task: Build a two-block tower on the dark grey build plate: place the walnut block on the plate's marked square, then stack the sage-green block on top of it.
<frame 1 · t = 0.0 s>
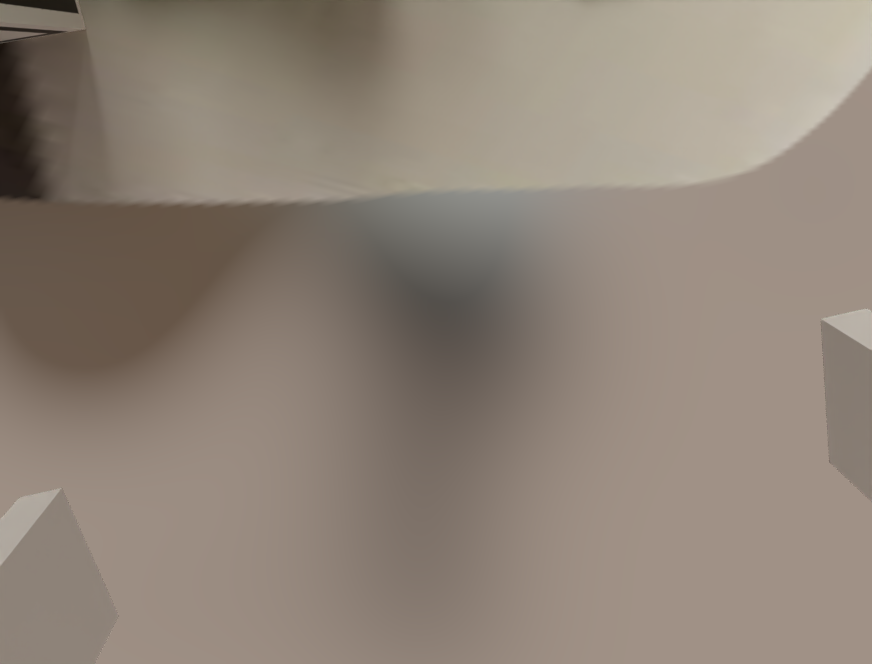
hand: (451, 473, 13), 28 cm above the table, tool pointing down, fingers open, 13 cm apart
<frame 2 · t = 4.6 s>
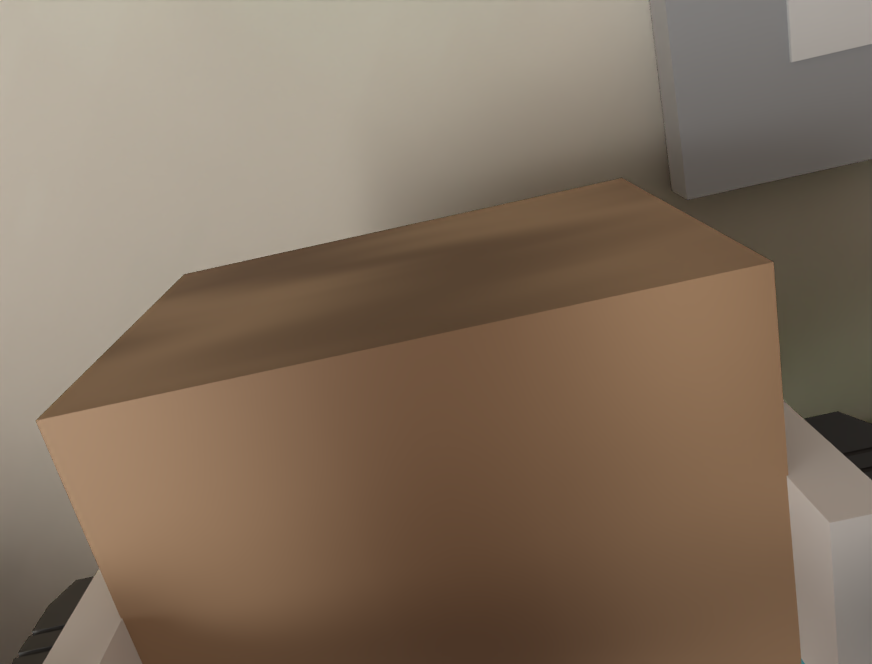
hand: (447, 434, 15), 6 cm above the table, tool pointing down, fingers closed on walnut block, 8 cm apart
walnut block: (446, 424, 15), point 5 cm above the table, touching gripper
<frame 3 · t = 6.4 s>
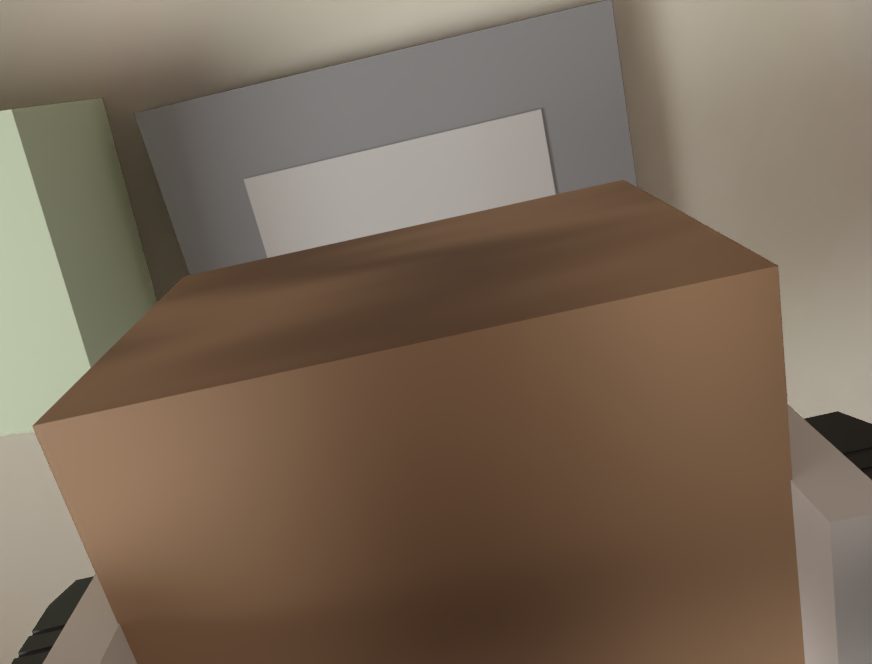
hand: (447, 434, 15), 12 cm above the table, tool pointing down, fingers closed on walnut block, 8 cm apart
walnut block: (447, 427, 15), point 11 cm above the table, touching gripper
build plate: (424, 276, 26), on the table
green block: (14, 244, 25), on the table
when the fingers open (2 cm above the table, at t = 8.4 s): walnut block stays where it is, resting on build plate.
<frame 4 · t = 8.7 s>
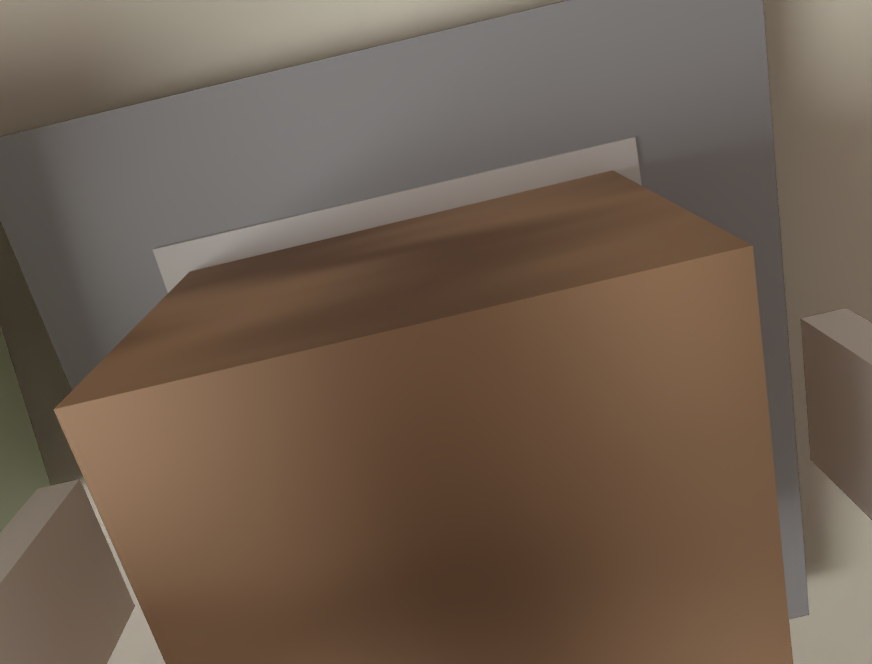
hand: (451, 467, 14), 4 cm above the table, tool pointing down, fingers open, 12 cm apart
walnut block: (447, 413, 16), point 1 cm above the table, touching build plate
build plate: (441, 387, 17), on the table
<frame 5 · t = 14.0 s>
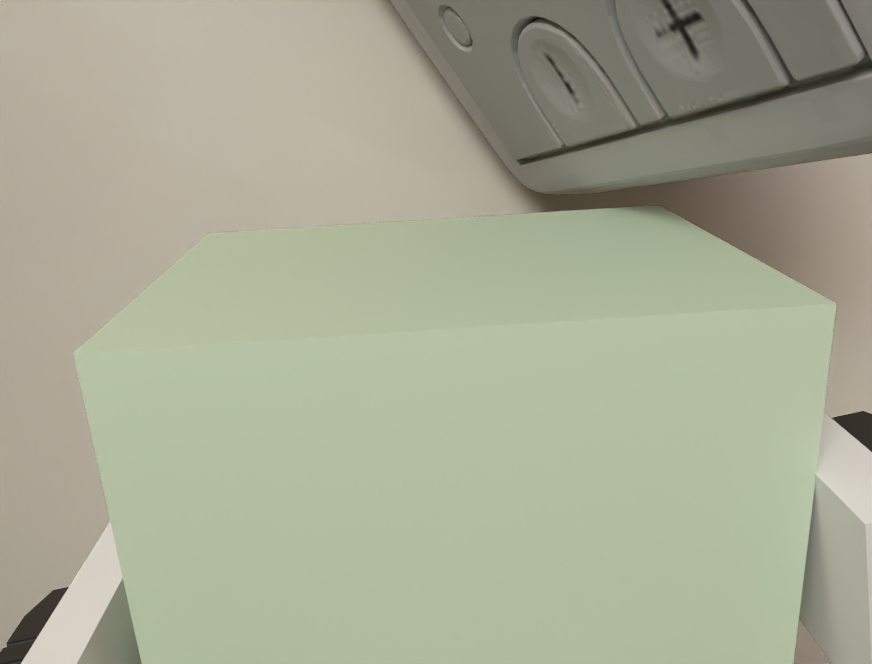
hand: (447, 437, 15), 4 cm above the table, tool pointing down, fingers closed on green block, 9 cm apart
green block: (446, 423, 15), point 4 cm above the table, touching gripper
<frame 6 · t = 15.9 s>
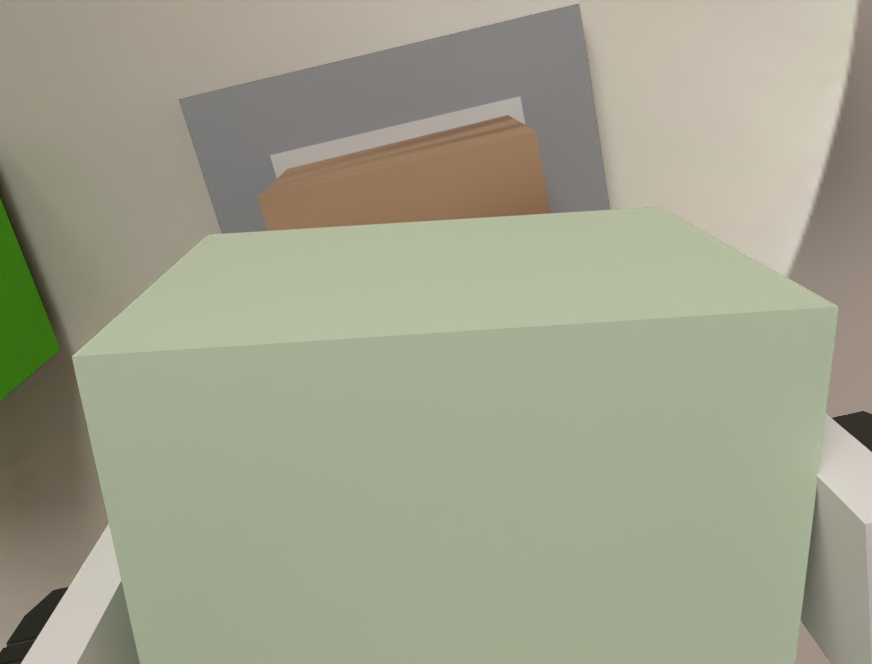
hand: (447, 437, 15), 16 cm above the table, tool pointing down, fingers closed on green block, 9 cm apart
walnut block: (423, 250, 29), point 1 cm above the table, touching build plate
build plate: (422, 240, 30), on the table
green block: (446, 425, 15), point 16 cm above the table, touching gripper
when the fingers open (8 cm above the table, at t = 18.0 s): green block stays where it is, resting on walnut block.
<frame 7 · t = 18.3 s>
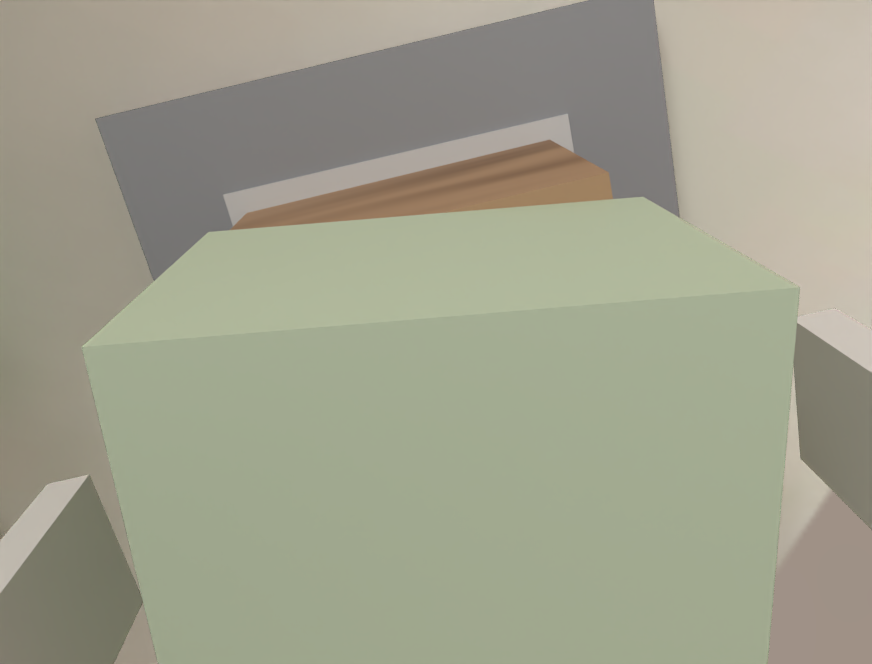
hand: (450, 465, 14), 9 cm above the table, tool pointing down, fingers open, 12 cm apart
walnut block: (432, 320, 21), point 1 cm above the table, touching build plate, green block
build plate: (431, 304, 23), on the table
green block: (442, 411, 16), point 7 cm above the table, touching walnut block
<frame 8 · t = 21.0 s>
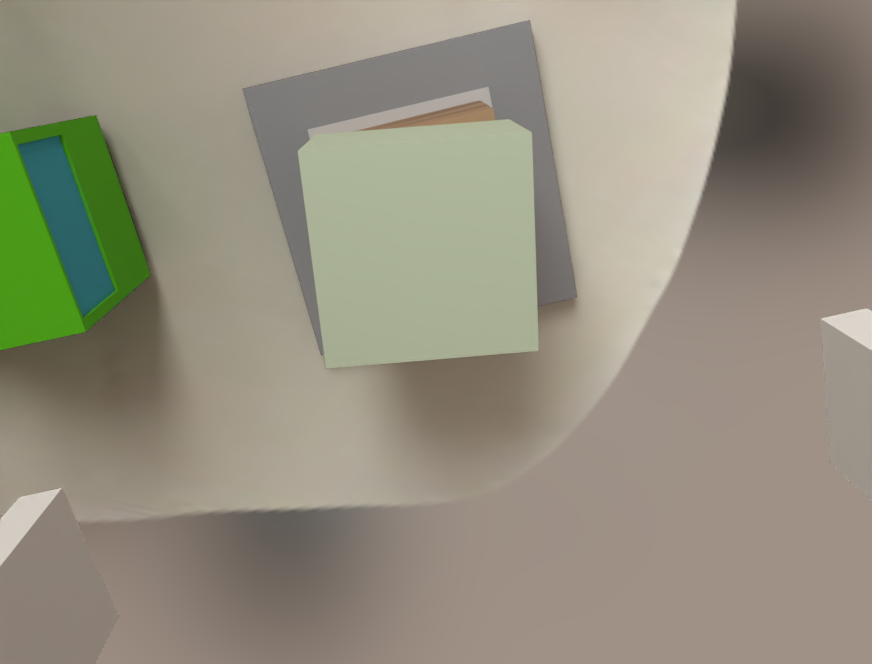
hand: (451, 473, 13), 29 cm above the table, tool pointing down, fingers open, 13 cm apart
walnut block: (418, 200, 39), point 1 cm above the table, touching build plate, green block
build plate: (418, 194, 40), on the table
toy car: (9, 220, 40), on the table
green block: (420, 222, 34), point 7 cm above the table, touching walnut block
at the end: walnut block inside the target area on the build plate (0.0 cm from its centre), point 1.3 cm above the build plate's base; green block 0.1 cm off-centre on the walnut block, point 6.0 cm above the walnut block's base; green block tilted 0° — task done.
